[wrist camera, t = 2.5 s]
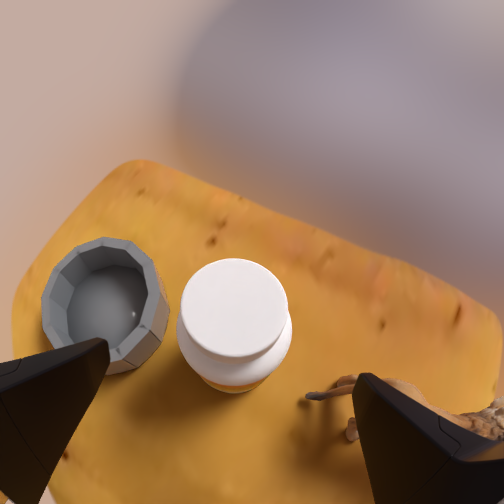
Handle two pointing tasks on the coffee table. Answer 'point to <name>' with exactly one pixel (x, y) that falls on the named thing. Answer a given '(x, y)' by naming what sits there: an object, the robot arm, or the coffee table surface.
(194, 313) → the supplement bottle
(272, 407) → the coffee table surface
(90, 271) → the grey faceted bowl
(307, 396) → the lion figurine
